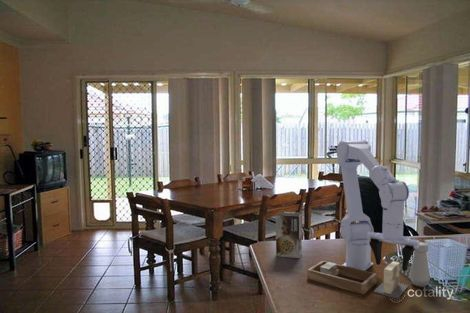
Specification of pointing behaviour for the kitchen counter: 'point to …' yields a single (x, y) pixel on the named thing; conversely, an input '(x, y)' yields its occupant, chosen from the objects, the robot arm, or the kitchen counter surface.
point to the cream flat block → (391, 277)
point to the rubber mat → (395, 294)
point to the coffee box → (288, 234)
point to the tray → (339, 282)
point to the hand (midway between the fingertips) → (391, 266)
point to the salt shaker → (420, 266)
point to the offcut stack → (330, 269)
